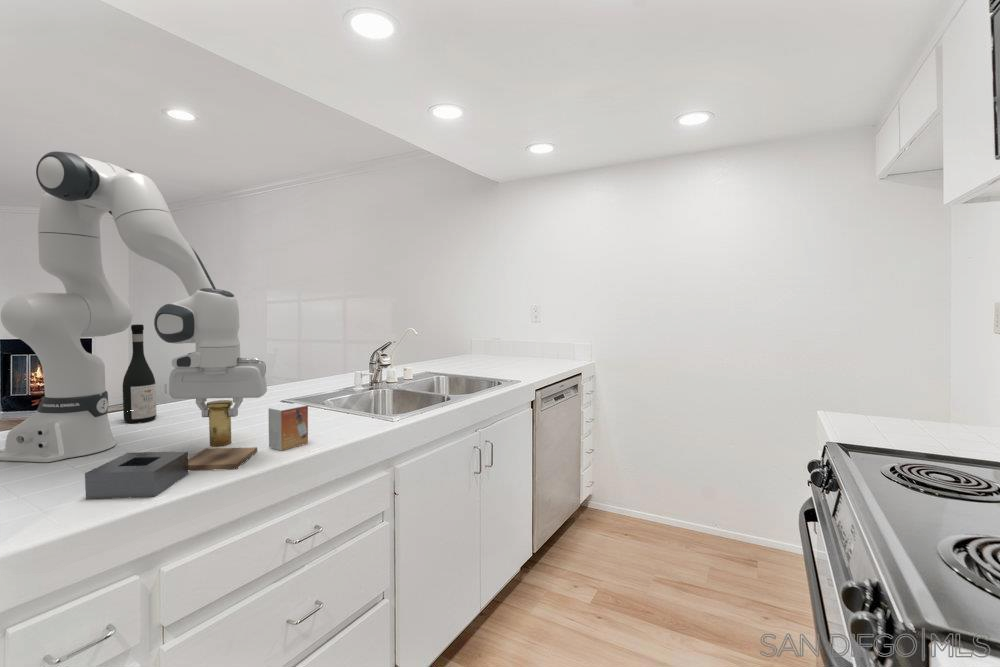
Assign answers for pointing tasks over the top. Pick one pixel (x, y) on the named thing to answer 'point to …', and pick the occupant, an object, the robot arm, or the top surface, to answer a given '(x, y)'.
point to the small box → (288, 426)
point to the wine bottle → (139, 383)
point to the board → (220, 458)
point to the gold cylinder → (219, 423)
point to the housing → (136, 475)
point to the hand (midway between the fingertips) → (220, 416)
